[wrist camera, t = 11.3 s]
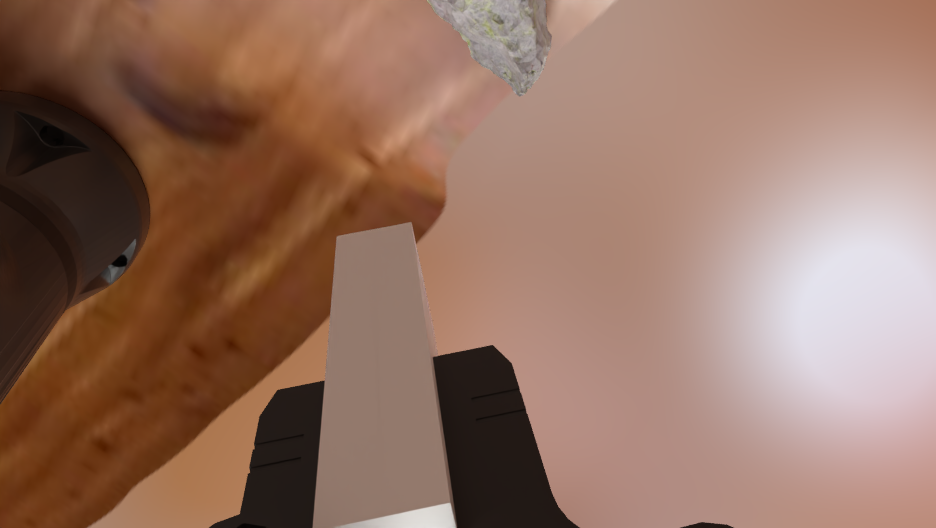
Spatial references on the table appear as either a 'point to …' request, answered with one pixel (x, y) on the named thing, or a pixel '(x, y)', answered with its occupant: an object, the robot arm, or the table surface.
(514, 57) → the rock
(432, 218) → the table surface
